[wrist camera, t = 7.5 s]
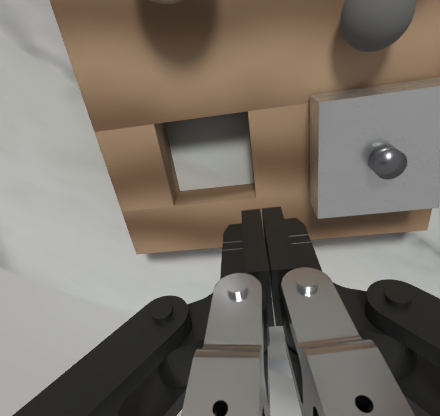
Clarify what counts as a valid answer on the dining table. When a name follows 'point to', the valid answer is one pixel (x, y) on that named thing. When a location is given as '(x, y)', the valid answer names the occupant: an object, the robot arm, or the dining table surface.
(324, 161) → the steel cover
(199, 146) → the dining table surface
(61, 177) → the dining table surface
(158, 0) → the steel ball
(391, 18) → the black rubber ball
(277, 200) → the walnut board
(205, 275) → the dining table surface
